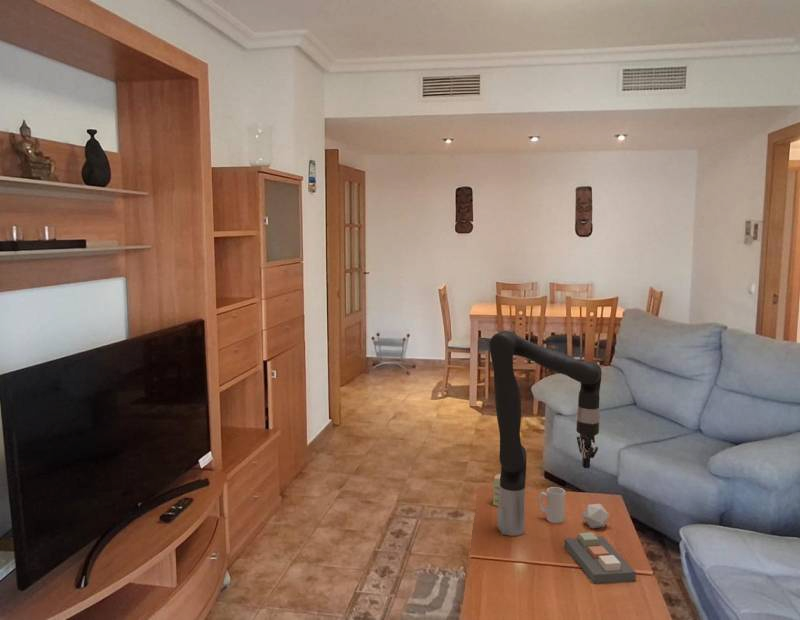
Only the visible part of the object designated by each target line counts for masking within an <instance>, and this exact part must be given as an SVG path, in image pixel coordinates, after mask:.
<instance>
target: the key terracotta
mask: <svg viewBox="0 0 800 620" xmlns="http://www.w3.org/2000/svg"><path fill="white" fill-rule="evenodd" d="M588 553H589V554H590V555H591V556H592V558H593V559H599V556H606V555H609V553H608V552H607V550H606V549H605V548H604V547H603V546H592V547H588Z"/></svg>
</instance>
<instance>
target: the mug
mask: <svg viewBox="0 0 800 620" xmlns="http://www.w3.org/2000/svg"><path fill="white" fill-rule="evenodd" d="M544 497H545V498H546V508H544V507H543V505H542V499H543V498H544ZM565 500H566V490H565V489H564V488H562V487H557V486H552V487H548V488H547V489H546V492H544V491H543V492H542V491H541V492H540V495H539V496H538V500H537V503H538V507H539V510H540V512H541V513H543V514H546V520H547V522H549V523H552V524H562V523H563V522H564V519H565V518H564V517H565V516H564V515H565Z"/></svg>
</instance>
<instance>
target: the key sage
mask: <svg viewBox="0 0 800 620" xmlns="http://www.w3.org/2000/svg"><path fill="white" fill-rule="evenodd" d="M597 537H598V536H596V535H595V533H593V532H591V531H589V532H588V531H587V532H578V538H579V539H578V541H579V542H580V544H581V545H582V546H583V547H592V546H598V538H597Z"/></svg>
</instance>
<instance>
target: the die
mask: <svg viewBox="0 0 800 620" xmlns="http://www.w3.org/2000/svg"><path fill="white" fill-rule="evenodd" d="M609 517H610V514H609V513H608V511H607V509H605V507H604V506H603V505H602V503H594V504H593V503H592V504H587V506H586V508H585V510H584V513H582V519H584V521H585V522H586V523H587V525H588V526H589V528H590V529H598V528H604V527H605V526H606V523H607V522H608V519H609Z"/></svg>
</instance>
